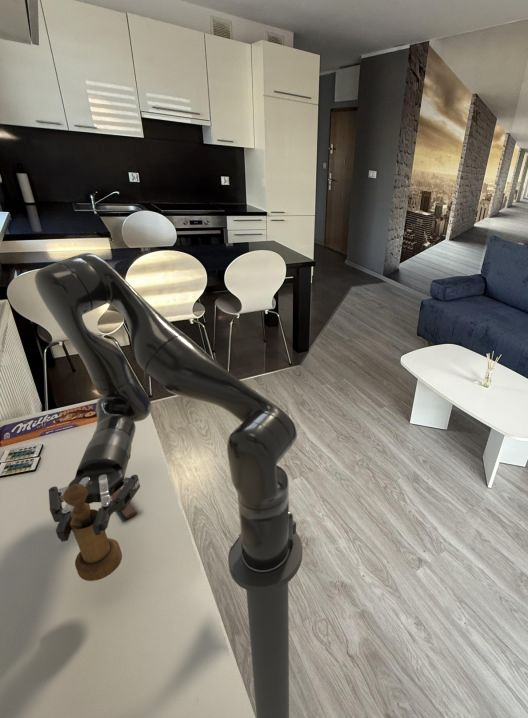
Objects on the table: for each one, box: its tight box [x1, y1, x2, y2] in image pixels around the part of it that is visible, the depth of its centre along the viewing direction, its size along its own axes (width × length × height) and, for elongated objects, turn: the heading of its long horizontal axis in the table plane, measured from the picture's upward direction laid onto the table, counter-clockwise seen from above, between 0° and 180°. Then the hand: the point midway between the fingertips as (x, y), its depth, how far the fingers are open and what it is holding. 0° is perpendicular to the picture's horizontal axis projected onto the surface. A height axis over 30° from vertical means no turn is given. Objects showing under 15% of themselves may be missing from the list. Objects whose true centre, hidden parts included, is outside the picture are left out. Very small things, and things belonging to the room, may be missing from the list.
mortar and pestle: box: [63, 484, 123, 582], centre depth 64 cm, size 7×6×18 cm
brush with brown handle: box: [112, 488, 138, 520], centre depth 90 cm, size 19×4×1 cm, turn 49°
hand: (80, 534), depth 61 cm, fingers closed on mortar and pestle, 4 cm apart
